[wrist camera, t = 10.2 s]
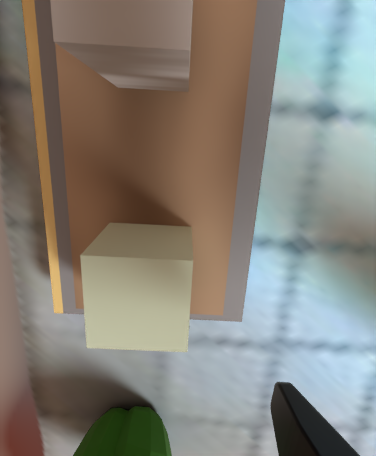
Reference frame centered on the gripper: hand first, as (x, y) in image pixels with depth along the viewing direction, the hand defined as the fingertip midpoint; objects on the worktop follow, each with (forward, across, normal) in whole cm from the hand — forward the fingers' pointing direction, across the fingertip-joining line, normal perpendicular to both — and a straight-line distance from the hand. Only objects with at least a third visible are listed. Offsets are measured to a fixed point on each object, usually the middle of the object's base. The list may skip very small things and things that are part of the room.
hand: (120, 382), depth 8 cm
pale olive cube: (+7, 0, -1) cm, 7 cm away
